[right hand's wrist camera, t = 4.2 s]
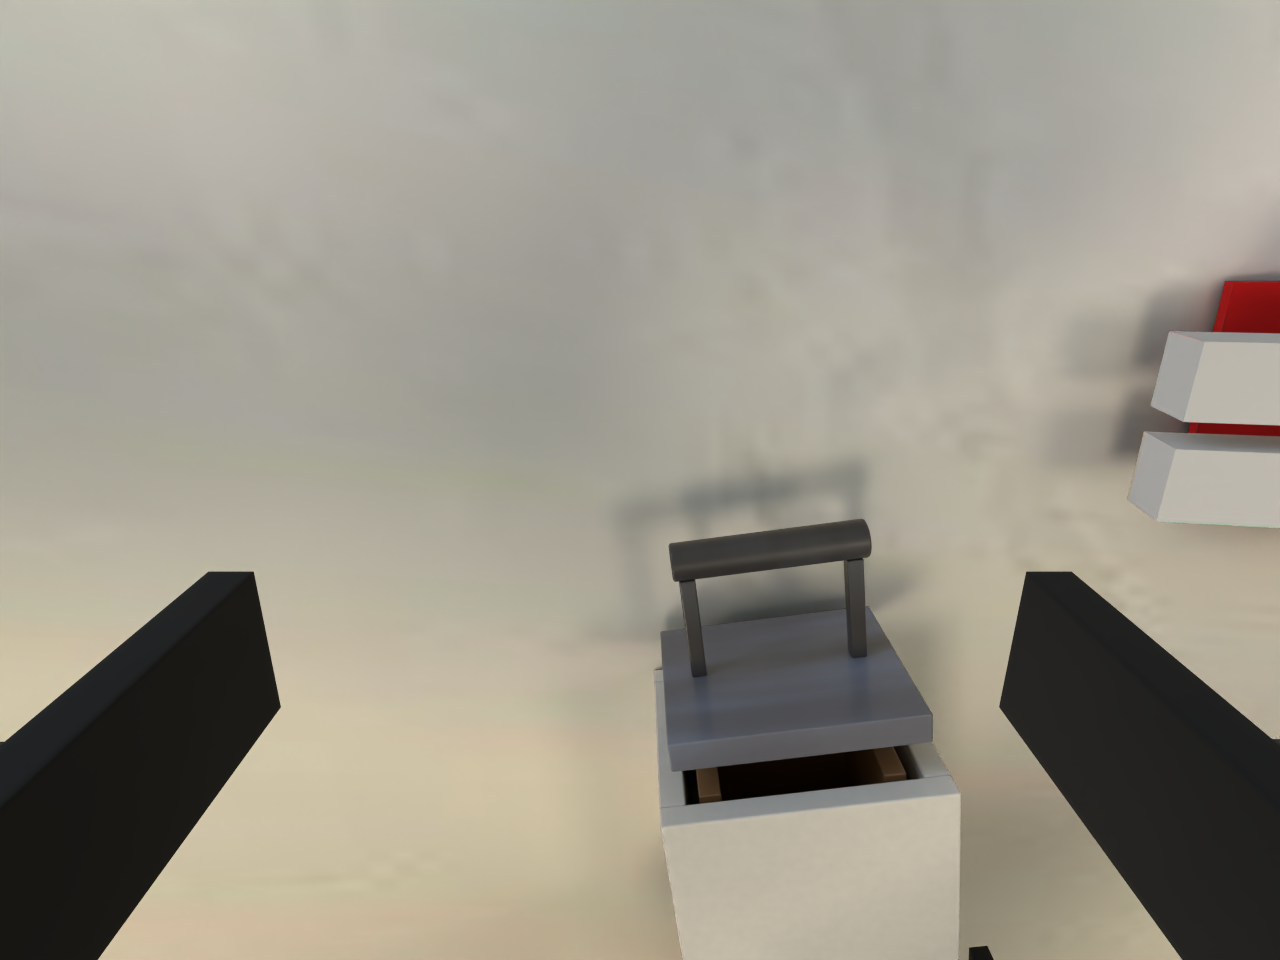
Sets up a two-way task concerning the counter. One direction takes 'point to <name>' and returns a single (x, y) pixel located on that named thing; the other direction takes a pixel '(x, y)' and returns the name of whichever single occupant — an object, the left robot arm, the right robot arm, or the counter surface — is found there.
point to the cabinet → (815, 866)
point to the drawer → (785, 677)
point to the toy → (1218, 418)
